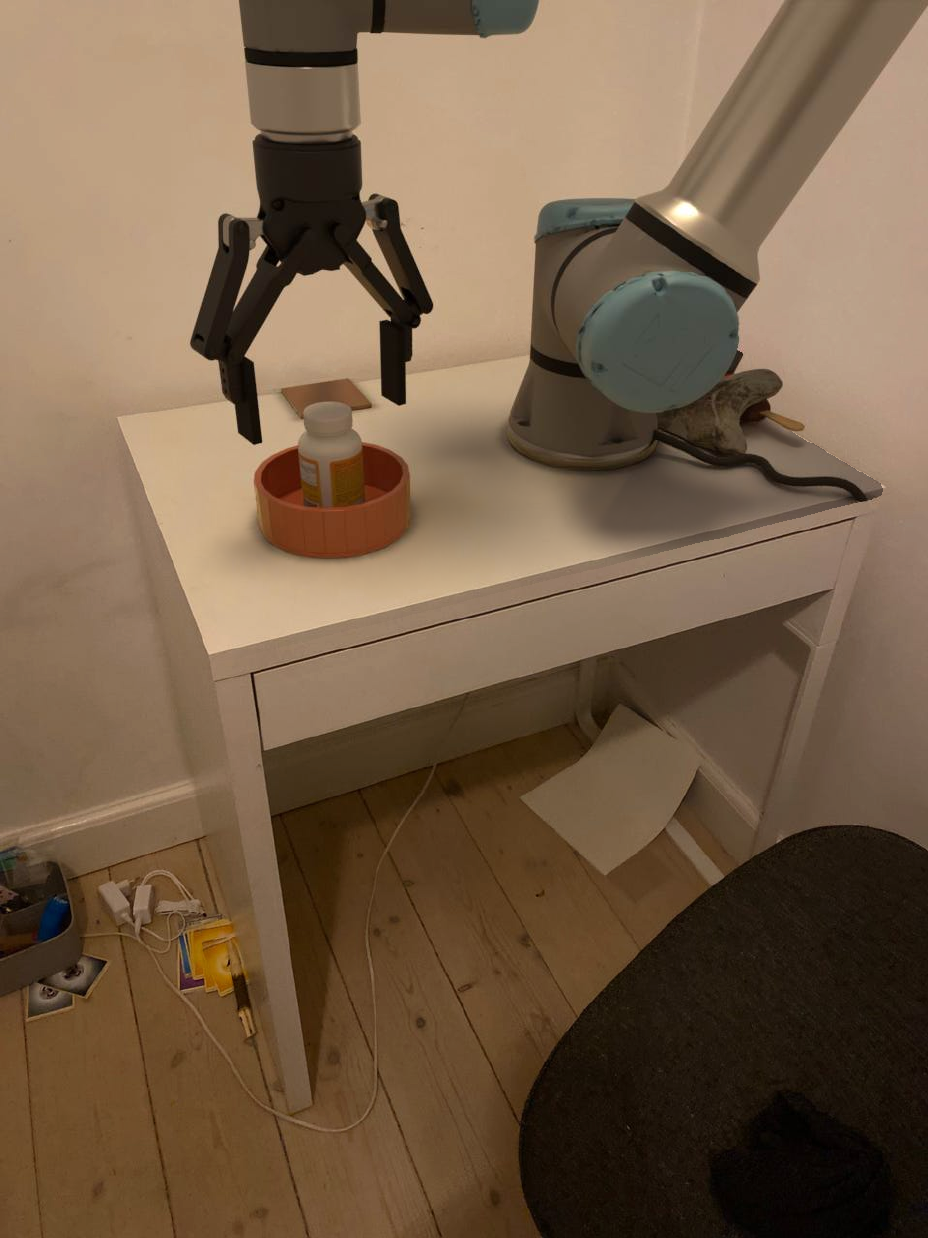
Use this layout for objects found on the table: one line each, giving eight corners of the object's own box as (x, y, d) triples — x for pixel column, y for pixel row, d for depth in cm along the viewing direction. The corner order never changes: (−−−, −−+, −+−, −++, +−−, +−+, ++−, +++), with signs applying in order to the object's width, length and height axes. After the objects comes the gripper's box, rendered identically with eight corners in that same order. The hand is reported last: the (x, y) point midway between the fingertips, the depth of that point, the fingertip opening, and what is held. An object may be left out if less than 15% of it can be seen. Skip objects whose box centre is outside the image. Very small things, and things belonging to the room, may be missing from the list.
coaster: (348, 381, 110) (348, 377, 110) (372, 407, 104) (371, 403, 104) (281, 391, 107) (280, 388, 107) (301, 418, 101) (300, 415, 101)
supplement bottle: (371, 501, 86) (365, 399, 80) (359, 531, 81) (353, 425, 76) (312, 497, 86) (303, 395, 81) (298, 527, 82) (287, 421, 76)
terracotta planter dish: (434, 500, 87) (434, 455, 84) (367, 572, 77) (365, 524, 74) (308, 473, 91) (304, 429, 88) (229, 538, 81) (222, 491, 79)
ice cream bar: (772, 452, 96) (679, 400, 107) (811, 443, 98) (715, 393, 109) (779, 421, 94) (684, 372, 105) (819, 414, 96) (721, 365, 107)
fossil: (644, 347, 104) (776, 349, 95) (658, 374, 108) (787, 379, 98) (604, 431, 101) (735, 442, 92) (620, 456, 105) (748, 469, 95)
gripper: (422, 112, 75) (422, 372, 87) (110, 138, 62) (162, 438, 75) (480, 126, 70) (472, 399, 82) (155, 157, 57) (203, 474, 70)
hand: (325, 418), depth 79 cm, fingers open, 13 cm apart
